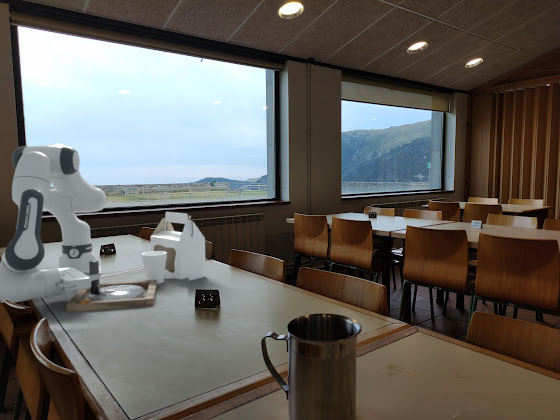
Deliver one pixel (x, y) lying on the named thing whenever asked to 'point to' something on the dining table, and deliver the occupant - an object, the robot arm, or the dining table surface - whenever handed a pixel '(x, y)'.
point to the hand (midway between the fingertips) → (97, 275)
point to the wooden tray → (86, 305)
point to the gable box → (180, 247)
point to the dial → (111, 288)
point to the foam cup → (154, 265)
